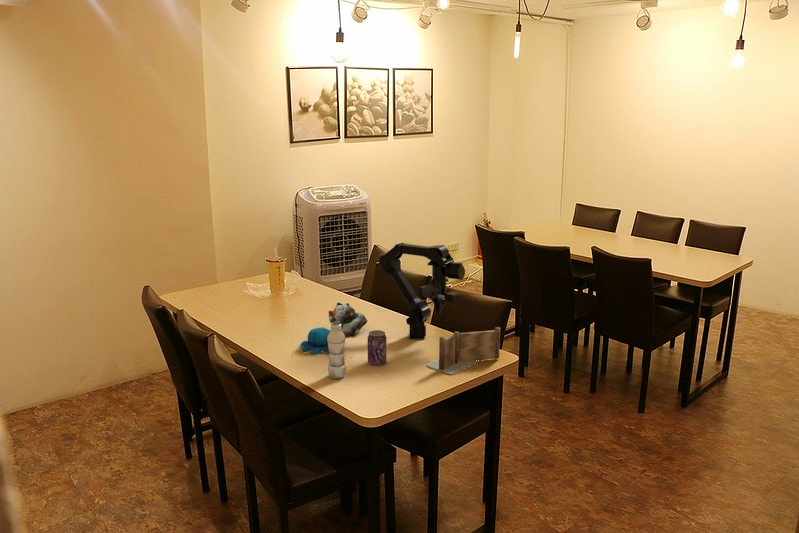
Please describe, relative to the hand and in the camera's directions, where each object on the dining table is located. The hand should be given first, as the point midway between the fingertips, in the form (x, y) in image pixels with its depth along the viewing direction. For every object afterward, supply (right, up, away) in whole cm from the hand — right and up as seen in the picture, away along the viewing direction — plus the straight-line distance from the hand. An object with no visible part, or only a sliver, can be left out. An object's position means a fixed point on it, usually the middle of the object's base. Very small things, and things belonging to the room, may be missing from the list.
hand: (438, 313), depth 258 cm
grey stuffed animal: (-38, -9, +14) cm, 42 cm away
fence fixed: (+2, -18, -23) cm, 29 cm away
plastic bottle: (-38, -20, -33) cm, 54 cm away
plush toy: (-47, -14, -4) cm, 50 cm away
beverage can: (-25, -17, -20) cm, 36 cm away
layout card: (+7, -17, -18) cm, 26 cm away
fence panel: (+14, -16, -18) cm, 28 cm away
